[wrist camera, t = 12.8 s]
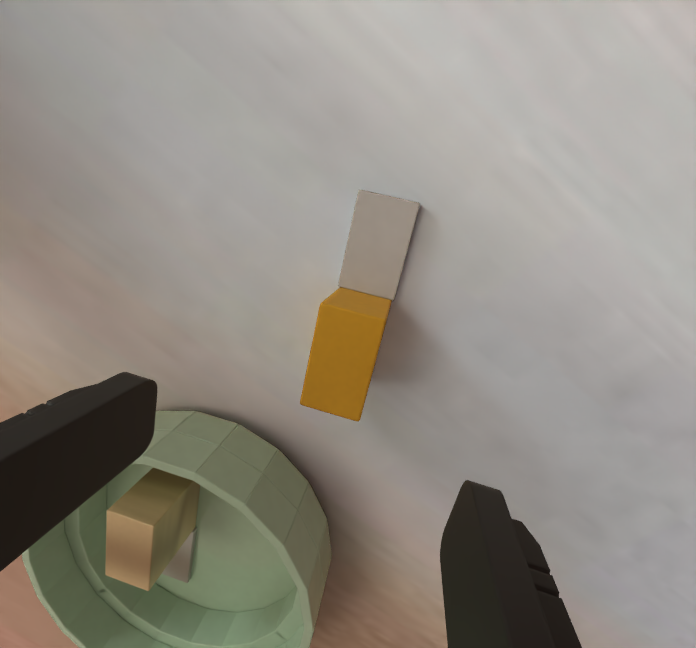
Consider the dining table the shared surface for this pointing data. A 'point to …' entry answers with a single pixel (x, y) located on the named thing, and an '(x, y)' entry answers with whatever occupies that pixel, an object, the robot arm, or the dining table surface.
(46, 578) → the bowl
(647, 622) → the dining table surface
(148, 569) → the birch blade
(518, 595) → the robot arm
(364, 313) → the yellow block with tab
